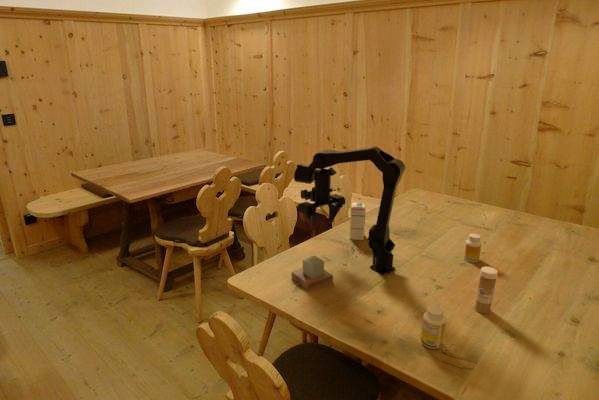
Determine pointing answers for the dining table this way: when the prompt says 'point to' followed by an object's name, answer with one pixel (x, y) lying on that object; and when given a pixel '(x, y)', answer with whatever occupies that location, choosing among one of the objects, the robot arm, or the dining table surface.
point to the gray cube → (313, 267)
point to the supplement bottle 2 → (472, 248)
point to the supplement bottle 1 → (433, 327)
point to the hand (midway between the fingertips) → (321, 225)
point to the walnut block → (309, 282)
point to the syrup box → (357, 221)
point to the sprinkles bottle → (486, 289)
